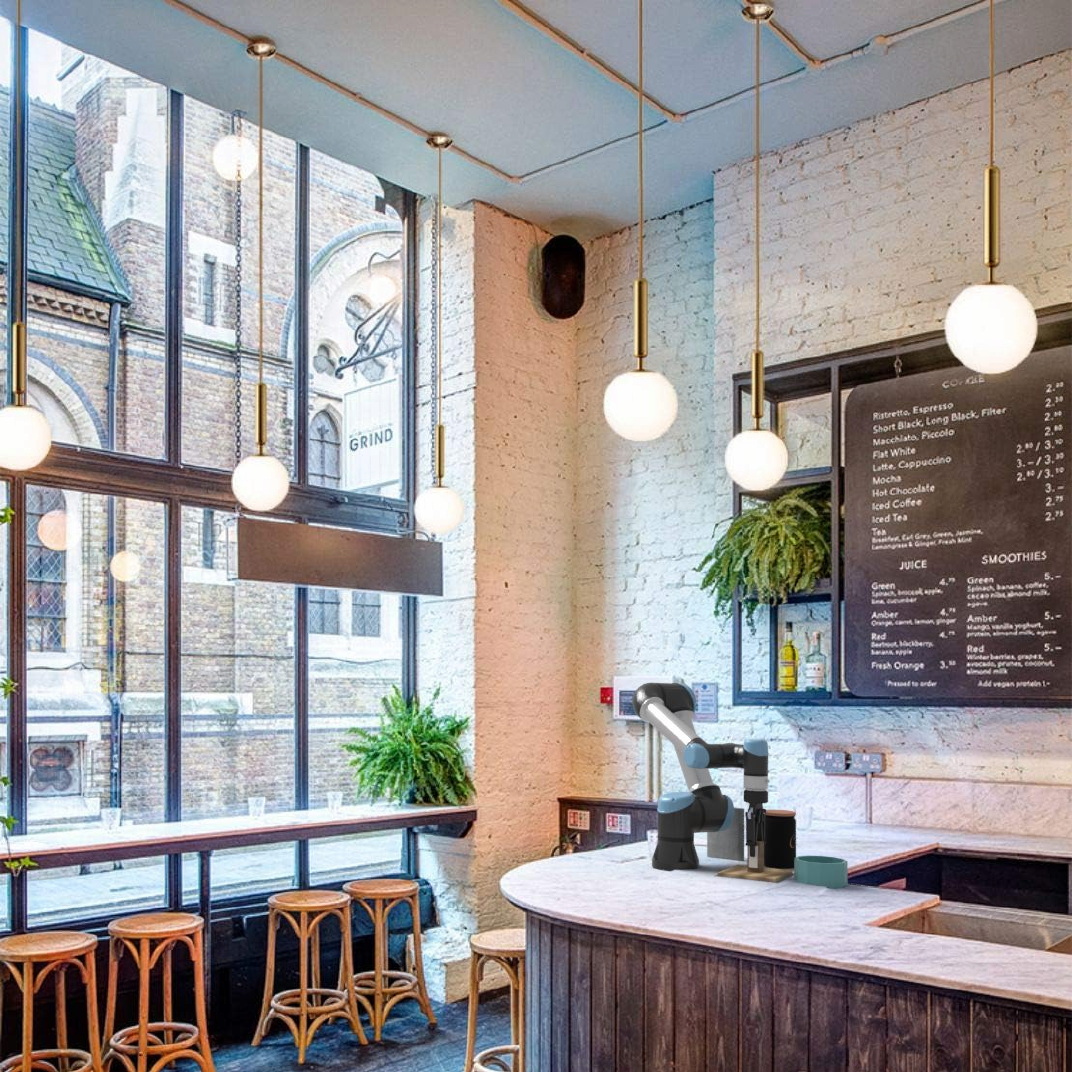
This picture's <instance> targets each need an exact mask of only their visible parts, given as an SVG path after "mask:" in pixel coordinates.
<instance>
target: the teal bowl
mask: <svg viewBox="0 0 1072 1072" xmlns="http://www.w3.org/2000/svg"><path fill="white" fill-rule="evenodd" d="M793 871H794V872H793V873H794V874H795V875H794V881H795V882H797V883H798V884H799V883H800V884H804V885H810V886H818V887H819V886H820V887H825V889H840V888H846V887H847V886H848V882H849V881H848V880H849V879H848V878H849V877H848V872H849V871H848V860H846V859H844V858H841V857H840V858H839V857H836V856H828V855H827V856H826V855H800V856H799V855H797V856H796V858H794V868H793Z"/></svg>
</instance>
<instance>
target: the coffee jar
mask: <svg viewBox="0 0 1072 1072" xmlns="http://www.w3.org/2000/svg"><path fill="white" fill-rule="evenodd" d="M796 815H797V812H796V811H793V810H786V809H766V816H765V842H766V844H764V868H773V869H783V870H791V869H794V858H796V857H797V819H796V818H795V817H796Z"/></svg>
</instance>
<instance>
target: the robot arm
mask: <svg viewBox="0 0 1072 1072" xmlns="http://www.w3.org/2000/svg"><path fill="white" fill-rule="evenodd" d="M631 703H632V708H633V711H634V713H635V714H636V716H637V717H639V719H640V720H642V722H644V723H649V724H651V725H652V727H654V728H655V729H656V731H658V732H659V733H660V734H661V735H662V736H664V737H665V738H666V739H667V740H668V741H669V742H670V743H671V744H672V745H673V748H674V751H675V754H676V757H677V759H678V762H679V765H680V768H681V771H682V774H683V777H684V780H685V783H686V787H687V790H688V791H679V792H678V791H674V792H669V793H667V792H666V793H664V794H662V795H660V797H659V798H658V799H657V800H658V801H657V803H658V804H657V808H656V810H657V842H656V846H655V849H654V852H653V855H652V859H651V867H652V868H653V869H658V870H663V871H672V872H673V871H675V870H679V871H683V870H684V871H686V870H695V869H698V868H700V860H699V856H698V852H697V849H696V845H695V839H694V838H695V834H697V833H698V834H699V833H702V834H703V833H707V832H718V831H724V830H726V829H728V828H729V826H730V825H731V823H732V821H733V817H734V807H735V806H734V803H733V799H732V798H731V797H729V796H728V795H727V794H723V793H722V790H721V788H720V785H718V784H716V783H714V782H713V779H712V775H711V772H710V769H730V768H731V769H732V768H733V769H734V768H735V769H743V788H744V790H743V802H745V803H748V809H747V811H744V817H745V846H746V847H747V846H749V867H751V868H758V846H757V841H763V842H764V844H766V842H765V816H766V810H767V808H764V806H763V804H767V803H769V791H768V788H769V783H770V779H769V755H770V754H769V745H768V744H769V743H768V741H767V740H766V739H758V738H747V739H744V741H743V744H740V743H734V742H725V743H708V742H706V741H705V740H704V739H703V738H702V737H701V736H699V735H698V734H697V731H696V729H695V726H694V724H693V719H694V718H695V712H696V709H697V705H696V704H697V697H696V694H695V692H694V691H693V689H692V688H691V687H690V686H689V685H687V684H685V683H679V682H646V683H643V684H642V685H640V686H639V687H638V688H636V690H635V691H634V694H633V696H632V702H631Z"/></svg>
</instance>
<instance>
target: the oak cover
mask: <svg viewBox="0 0 1072 1072" xmlns="http://www.w3.org/2000/svg"><path fill="white" fill-rule="evenodd" d="M757 846H758V868H751V867H749V846H747V845H746V847H747V849H746V850H747V853H746V854H747V858H746V859H747V863H746V864H747V865H742V864H736V865H734V866H733V865H732V866H731V867H728V868H726V869H724V870H721V871H718V872H717V874H718V876H724V877H723V878H726V877H733V878H732V879H735V878H742V879H741V880H744V879H751V880H750V881H753V880H760V881H759V882H762V881H769V882H768V883H771V882H777V881H779V880H781V879H783V878H785V877H787V876H789V875H791V874H793V873H794V872H793V871H794V870H791V869H776V868H769V867H765V866H764V842H763V841H757Z"/></svg>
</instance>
